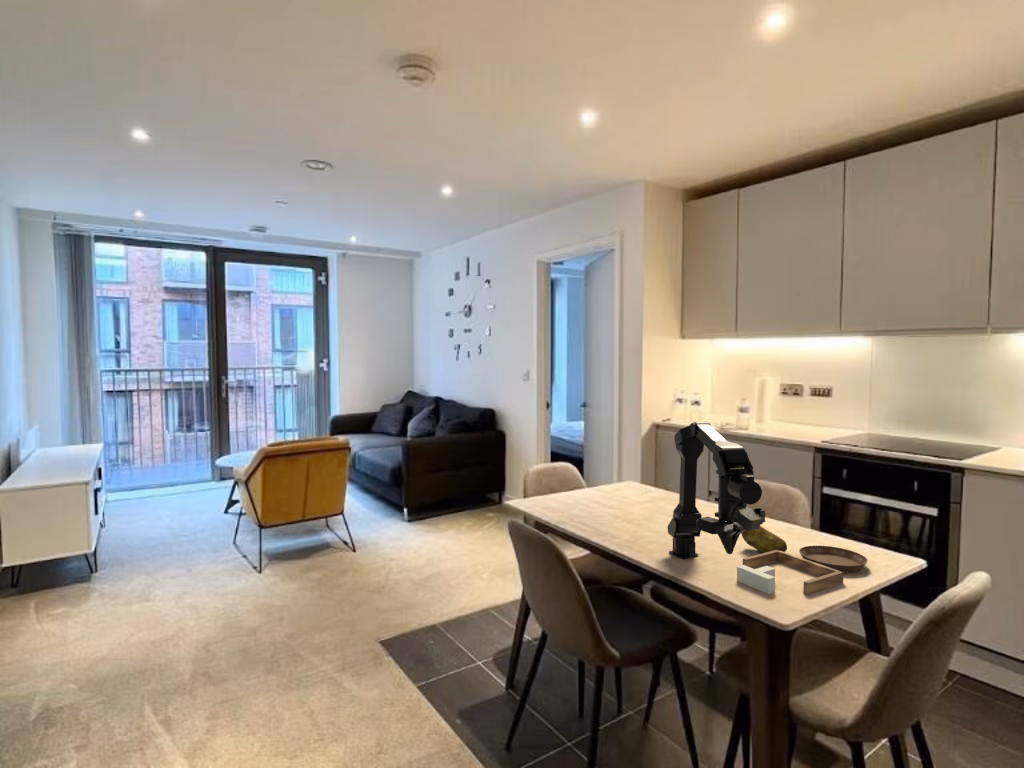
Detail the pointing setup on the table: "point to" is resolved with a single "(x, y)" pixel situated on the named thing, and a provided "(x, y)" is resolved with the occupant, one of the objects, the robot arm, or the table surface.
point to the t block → (757, 578)
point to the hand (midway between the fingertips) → (729, 553)
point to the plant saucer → (834, 557)
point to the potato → (764, 540)
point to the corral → (826, 574)
